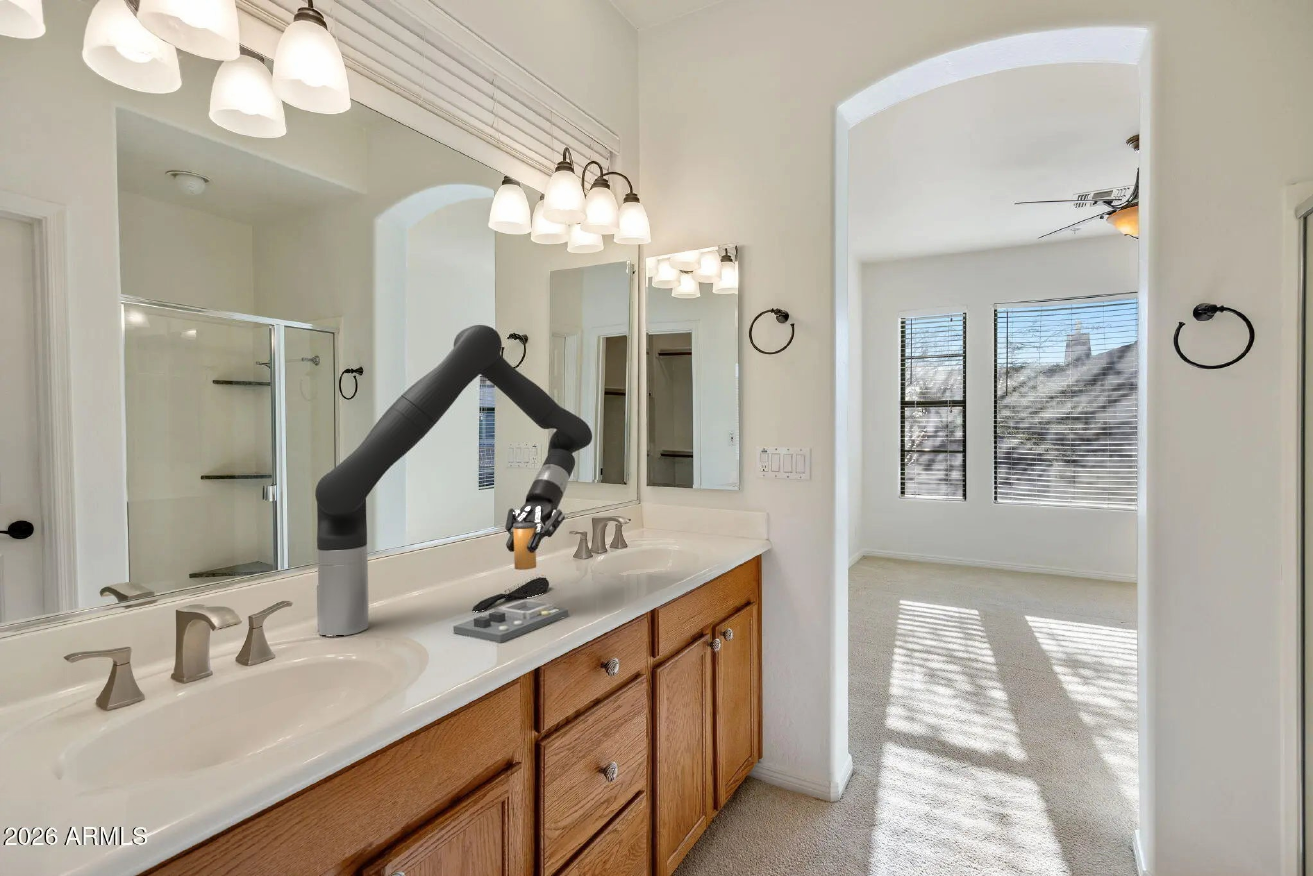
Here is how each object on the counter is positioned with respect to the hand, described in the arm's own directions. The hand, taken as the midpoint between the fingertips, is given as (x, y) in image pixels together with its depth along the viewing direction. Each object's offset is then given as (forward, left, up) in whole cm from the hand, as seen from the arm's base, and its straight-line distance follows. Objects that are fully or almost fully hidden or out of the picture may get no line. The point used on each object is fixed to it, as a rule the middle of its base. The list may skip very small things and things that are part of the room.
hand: (520, 549), depth 131 cm
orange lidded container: (0, +2, -4) cm, 4 cm away
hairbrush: (-16, +13, -16) cm, 25 cm away
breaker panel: (0, -3, -15) cm, 15 cm away
